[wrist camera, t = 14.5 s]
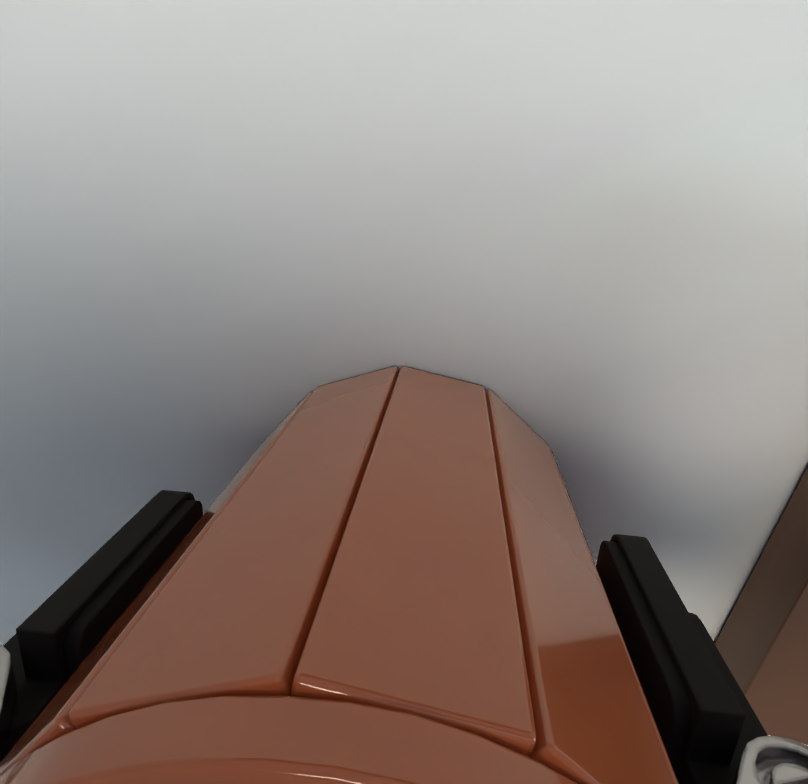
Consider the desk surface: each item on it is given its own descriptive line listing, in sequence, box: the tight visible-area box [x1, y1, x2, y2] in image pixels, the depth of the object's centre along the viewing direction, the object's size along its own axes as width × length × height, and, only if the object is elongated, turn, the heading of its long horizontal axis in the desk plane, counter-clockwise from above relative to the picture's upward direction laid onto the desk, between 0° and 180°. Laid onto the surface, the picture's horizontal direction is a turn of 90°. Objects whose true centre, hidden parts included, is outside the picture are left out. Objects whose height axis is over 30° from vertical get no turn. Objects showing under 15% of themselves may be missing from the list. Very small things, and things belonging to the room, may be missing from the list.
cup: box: [0, 366, 679, 784], centre depth 9 cm, size 7×7×9 cm
